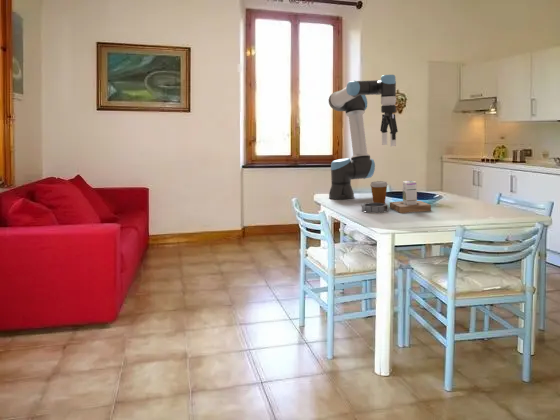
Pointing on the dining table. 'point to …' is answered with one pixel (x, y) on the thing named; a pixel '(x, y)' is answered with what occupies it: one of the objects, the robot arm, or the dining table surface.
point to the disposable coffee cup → (379, 191)
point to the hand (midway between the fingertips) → (388, 145)
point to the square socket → (410, 207)
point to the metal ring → (374, 207)
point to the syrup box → (409, 193)
